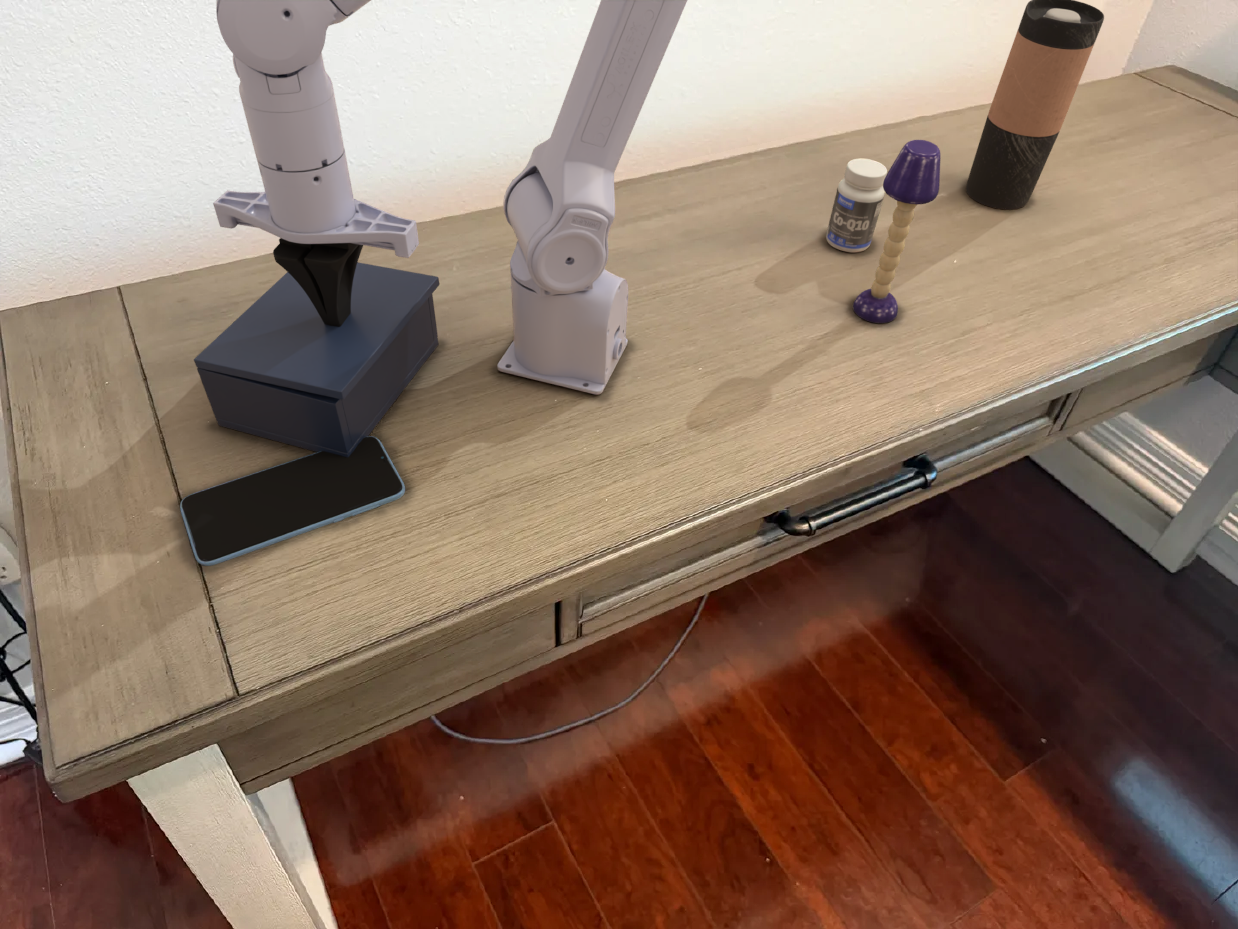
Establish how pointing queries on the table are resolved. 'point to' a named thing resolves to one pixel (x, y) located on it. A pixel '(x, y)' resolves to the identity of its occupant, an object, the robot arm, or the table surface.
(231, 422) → the box
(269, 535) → the smartphone
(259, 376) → the lid
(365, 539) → the table surface
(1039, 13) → the travel mug
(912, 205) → the toy lamp
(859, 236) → the pill bottle
